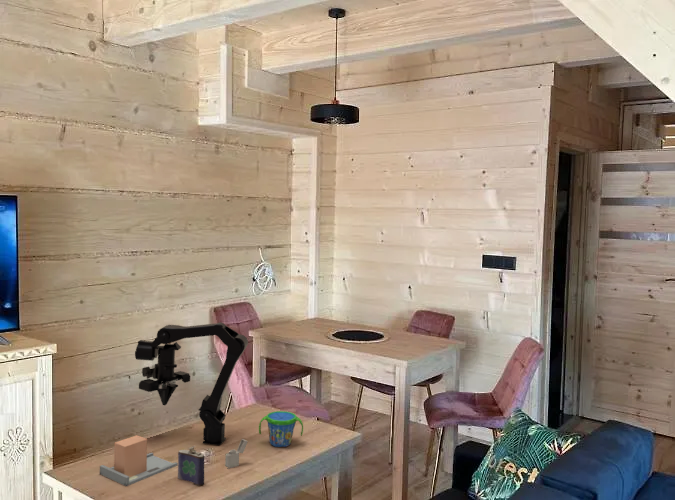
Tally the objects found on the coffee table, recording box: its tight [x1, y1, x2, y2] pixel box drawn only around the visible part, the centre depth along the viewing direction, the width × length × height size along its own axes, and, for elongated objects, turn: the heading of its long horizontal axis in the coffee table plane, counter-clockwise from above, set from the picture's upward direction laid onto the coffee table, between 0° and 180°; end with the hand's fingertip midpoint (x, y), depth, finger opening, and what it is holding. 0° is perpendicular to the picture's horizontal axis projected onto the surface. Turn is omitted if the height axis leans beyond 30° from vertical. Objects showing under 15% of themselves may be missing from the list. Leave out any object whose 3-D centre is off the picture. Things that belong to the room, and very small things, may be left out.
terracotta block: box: [113, 434, 148, 478], centre depth 184 cm, size 8×5×10 cm, turn 145°
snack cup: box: [258, 410, 304, 448], centre depth 213 cm, size 16×10×10 cm
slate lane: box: [99, 452, 178, 487], centre depth 187 cm, size 19×13×3 cm
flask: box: [177, 445, 205, 487], centre depth 181 cm, size 9×3×11 cm, turn 65°
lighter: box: [225, 438, 249, 470], centre depth 194 cm, size 7×2×8 cm, turn 129°
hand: (164, 405), depth 213 cm, fingers closed
